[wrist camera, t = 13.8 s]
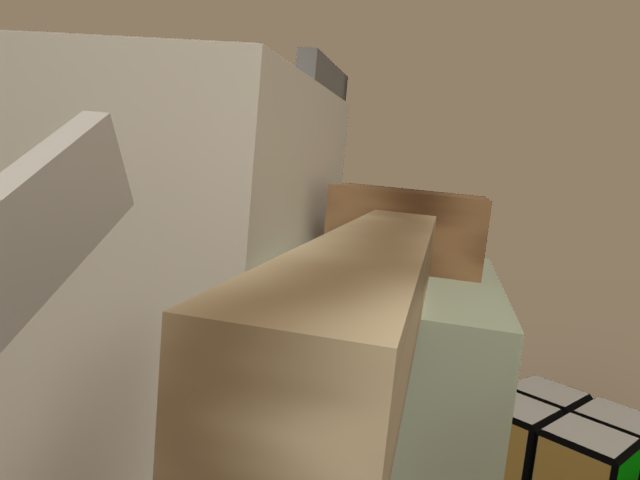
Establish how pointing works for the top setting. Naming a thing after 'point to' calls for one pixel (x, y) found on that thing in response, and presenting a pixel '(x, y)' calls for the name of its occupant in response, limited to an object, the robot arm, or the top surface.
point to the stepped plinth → (212, 251)
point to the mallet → (312, 343)
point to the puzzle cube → (570, 435)
